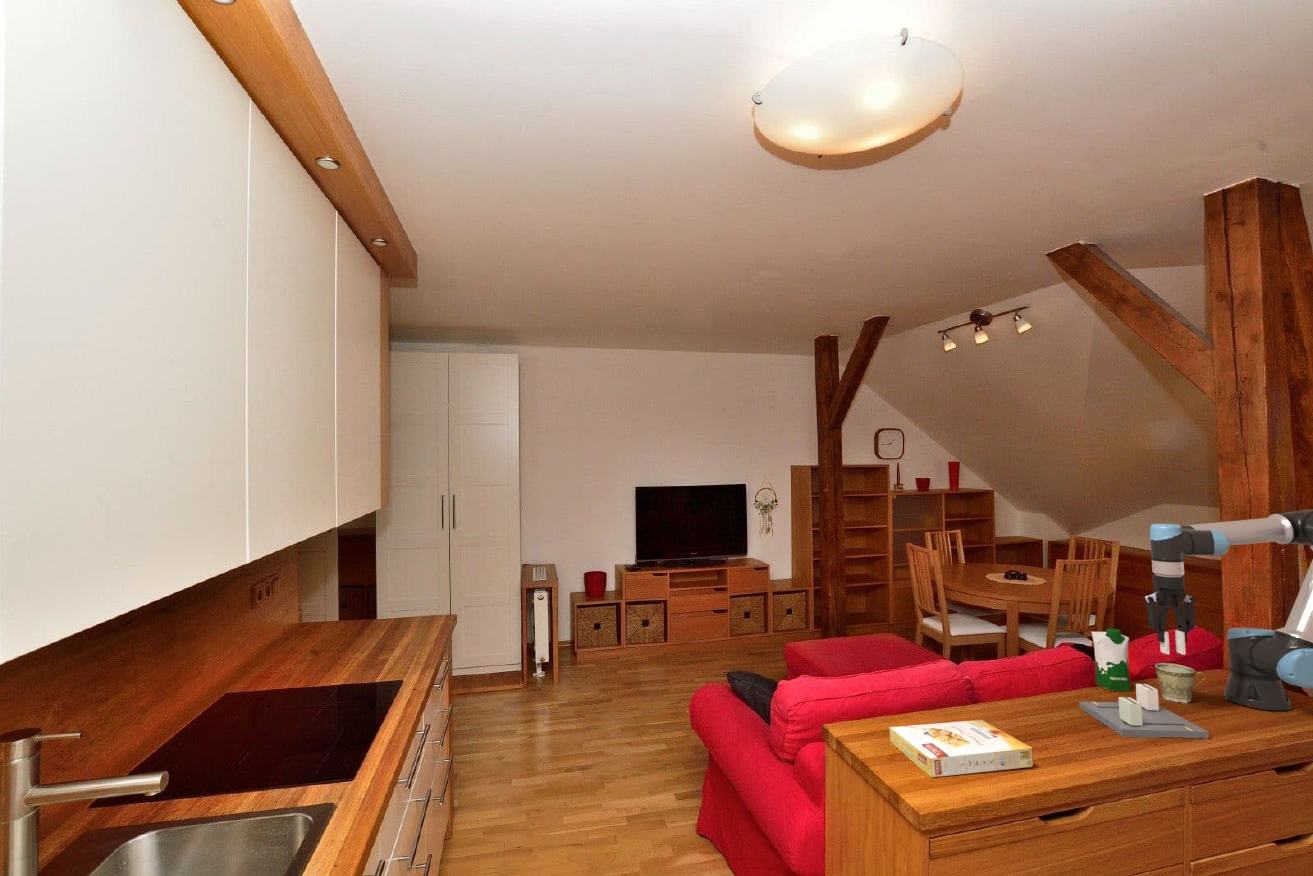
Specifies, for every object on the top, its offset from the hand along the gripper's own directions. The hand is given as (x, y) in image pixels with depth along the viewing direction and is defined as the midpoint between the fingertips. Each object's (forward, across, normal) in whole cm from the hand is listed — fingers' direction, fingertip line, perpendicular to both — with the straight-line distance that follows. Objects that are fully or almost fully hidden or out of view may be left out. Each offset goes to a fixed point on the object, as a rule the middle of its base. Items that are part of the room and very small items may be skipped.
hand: (1173, 653), depth 186 cm
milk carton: (+19, +4, -24) cm, 31 cm away
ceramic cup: (+19, -11, -14) cm, 26 cm away
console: (+19, +14, +6) cm, 24 cm away
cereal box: (+19, +74, +32) cm, 83 cm away
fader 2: (+16, +8, 0) cm, 18 cm away
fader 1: (+16, +20, +12) cm, 28 cm away
